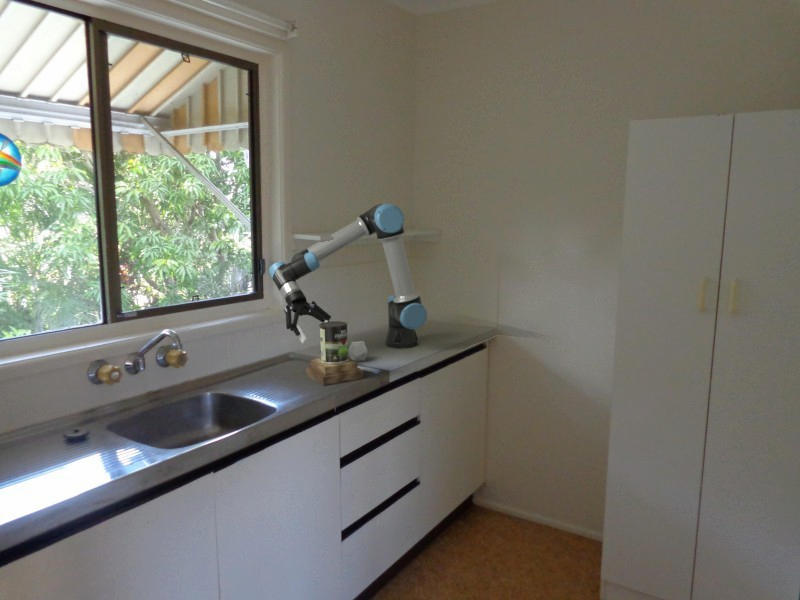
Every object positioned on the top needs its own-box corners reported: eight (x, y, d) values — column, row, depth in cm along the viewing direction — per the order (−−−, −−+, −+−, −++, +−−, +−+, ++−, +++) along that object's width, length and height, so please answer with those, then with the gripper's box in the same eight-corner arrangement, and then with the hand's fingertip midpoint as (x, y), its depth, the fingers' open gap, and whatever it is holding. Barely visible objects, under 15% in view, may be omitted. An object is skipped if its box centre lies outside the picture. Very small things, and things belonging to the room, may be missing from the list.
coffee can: (354, 359, 219) (353, 322, 217) (335, 365, 211) (333, 327, 209) (334, 355, 225) (332, 320, 223) (315, 361, 217) (313, 324, 215)
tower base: (344, 368, 230) (344, 353, 229) (363, 378, 216) (363, 362, 215) (306, 375, 222) (305, 359, 221) (323, 385, 208) (322, 369, 207)
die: (360, 365, 236) (372, 345, 237) (341, 354, 237) (354, 334, 238) (361, 367, 244) (373, 347, 245) (343, 357, 245) (355, 337, 246)
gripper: (314, 297, 241) (339, 338, 234) (263, 305, 224) (288, 350, 216) (322, 286, 237) (348, 327, 229) (270, 293, 219) (296, 338, 211)
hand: (319, 338), depth 222 cm, fingers open, 13 cm apart
